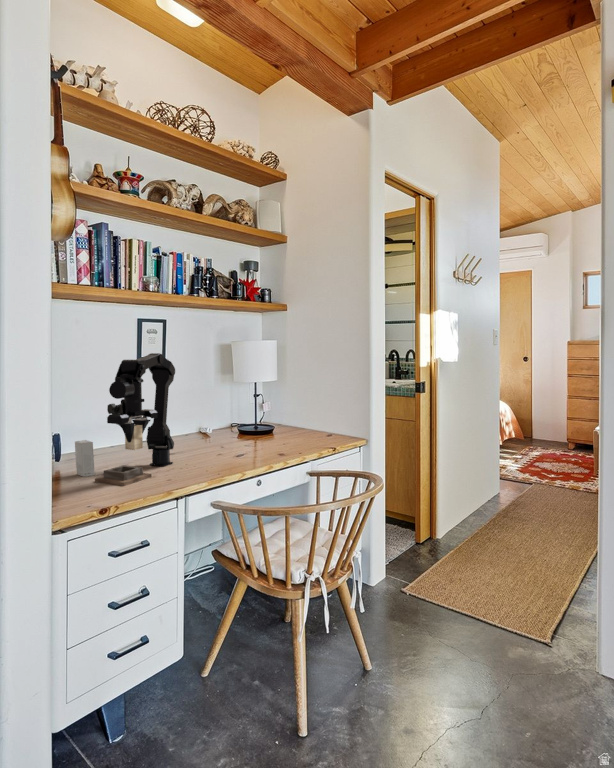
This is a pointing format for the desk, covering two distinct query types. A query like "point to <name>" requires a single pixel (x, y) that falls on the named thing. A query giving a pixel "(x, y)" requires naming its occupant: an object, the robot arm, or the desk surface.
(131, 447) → the maple peg
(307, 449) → the desk surface
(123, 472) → the socket holder
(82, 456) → the skincare box
